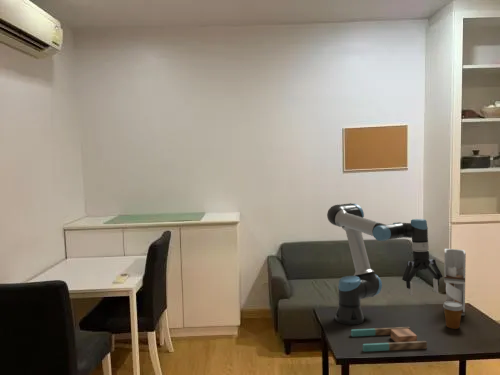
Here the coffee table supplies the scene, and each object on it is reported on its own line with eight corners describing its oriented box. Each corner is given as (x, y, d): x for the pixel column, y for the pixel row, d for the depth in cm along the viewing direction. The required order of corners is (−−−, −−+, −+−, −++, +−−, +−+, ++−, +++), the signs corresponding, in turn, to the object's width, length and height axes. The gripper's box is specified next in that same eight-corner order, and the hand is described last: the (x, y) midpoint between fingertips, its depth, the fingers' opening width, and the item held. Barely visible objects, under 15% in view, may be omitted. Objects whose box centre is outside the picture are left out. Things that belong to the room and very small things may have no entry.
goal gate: (363, 351, 203) (363, 345, 203) (351, 335, 222) (351, 329, 222) (389, 350, 204) (389, 344, 204) (374, 334, 223) (374, 328, 222)
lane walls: (389, 350, 204) (389, 344, 204) (374, 334, 223) (374, 328, 222) (426, 348, 205) (426, 342, 205) (408, 332, 224) (409, 326, 224)
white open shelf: (443, 307, 261) (444, 248, 259) (463, 309, 257) (464, 249, 255) (444, 313, 251) (444, 252, 249) (464, 315, 247) (465, 253, 244)
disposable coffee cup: (461, 331, 225) (461, 308, 224) (441, 327, 230) (441, 305, 229) (463, 325, 233) (464, 302, 232) (444, 322, 238) (444, 300, 237)
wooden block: (398, 345, 209) (398, 336, 209) (390, 338, 218) (390, 329, 218) (416, 344, 210) (416, 335, 210) (408, 337, 219) (408, 328, 219)
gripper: (401, 253, 211) (403, 297, 211) (448, 249, 216) (451, 292, 215) (393, 251, 219) (396, 294, 219) (439, 247, 223) (441, 289, 223)
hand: (423, 293), depth 217 cm, fingers open, 13 cm apart
